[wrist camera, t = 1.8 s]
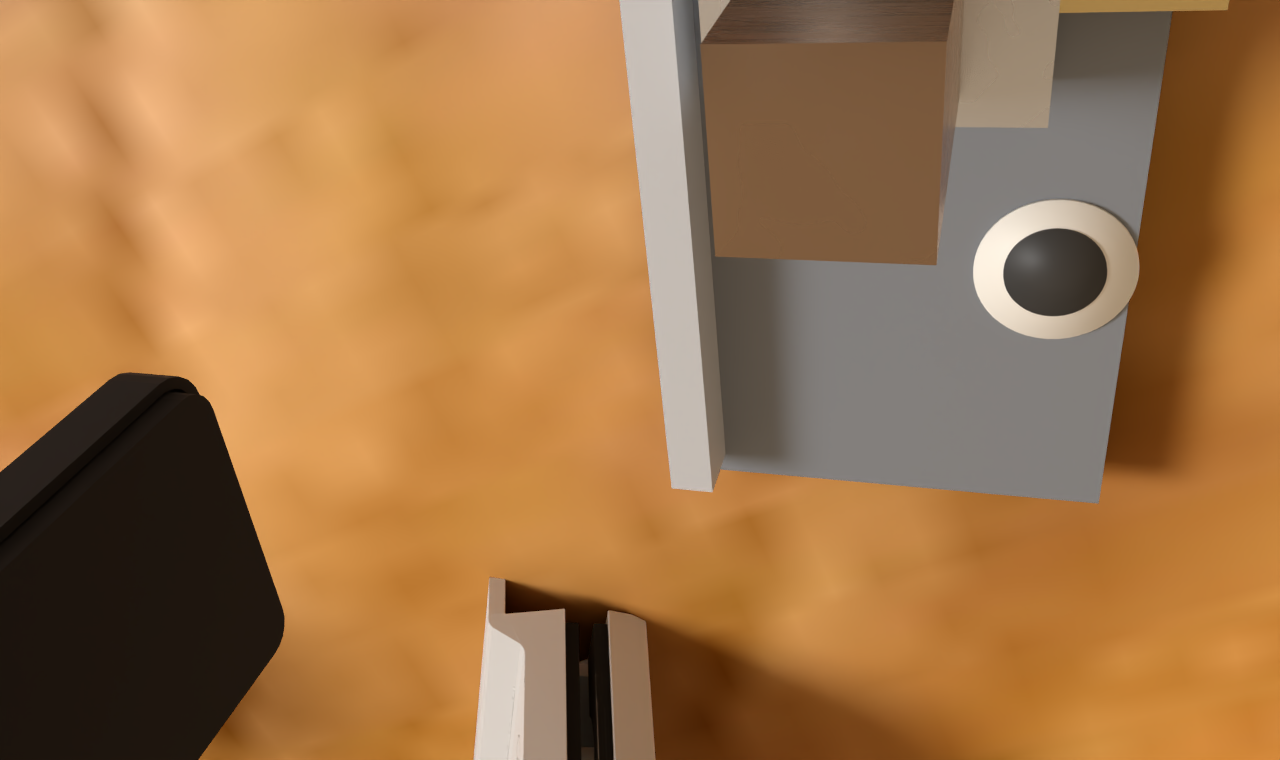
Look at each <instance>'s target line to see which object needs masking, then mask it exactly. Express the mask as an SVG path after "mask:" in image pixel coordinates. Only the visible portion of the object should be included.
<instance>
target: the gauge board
mask: <svg viewBox="0 0 1280 760" xmlns="http://www.w3.org/2000/svg"><path fill="white" fill-rule="evenodd" d="M619 1H620V11H621V20H622V29H623V38H624V48H625V57H626V66H627V76H628V85H629V94H630V104H631V113H632V122H633V132H634V141H635V150H636V160H637V169H638V178H639V188H640V197H641V206H642V216H643V225H644V234H645V244H646V253H647V262H648V272H649V281H650V290H651V300H652V309H653V318H654V328H655V337H656V346H657V356H658V365H659V374H660V384H661V393H662V402H663V412H664V421H665V430H666V440H667V449H668V458H669V468H670V477H671V486H672V488H674V489H685V490H695V491H706V492H713V489H714V486H715V483H716V480H717V478H718V475H719V472H720V469H722V470H733V471H745V472H756V473H767V474H778V475H789V476H800V477H811V478H822V479H833V480H844V481H855V482H867V483H878V484H889V485H900V486H911V487H922V488H933V489H944V490H955V491H966V492H977V493H989V494H1000V495H1011V496H1022V497H1033V498H1044V499H1055V500H1066V501H1077V502H1088V503H1099V497H1100V491H1101V484H1102V477H1103V471H1104V464H1105V457H1106V451H1107V444H1108V437H1109V431H1110V424H1111V417H1112V411H1113V404H1114V398H1115V391H1116V384H1117V378H1118V371H1119V364H1120V358H1121V351H1122V344H1123V338H1124V331H1125V324H1126V318H1127V311H1128V304H1129V300H1130V298H1131V297H1132V295H1133V293H1134V291H1135V288H1136V286H1137V282H1138V277H1139V268H1140V266H1139V256H1138V251H1137V245H1138V238H1139V231H1140V225H1141V218H1142V211H1143V205H1144V198H1145V191H1146V185H1147V178H1148V171H1149V165H1150V158H1151V151H1152V145H1153V138H1154V131H1155V125H1156V118H1157V112H1158V105H1159V98H1160V92H1161V85H1162V78H1163V72H1164V65H1165V58H1166V52H1167V45H1168V38H1169V32H1170V25H1171V18H1172V12H1173V11H1148V12H1089V13H1059V19H1058V29H1057V39H1056V50H1055V60H1054V70H1053V80H1052V91H1051V101H1050V111H1049V121H1048V128H1001V127H955V133H954V140H953V148H952V155H951V162H950V170H949V177H948V185H947V192H946V199H945V207H944V214H943V221H942V229H941V236H940V243H939V251H938V258H937V265H915V264H889V263H864V262H839V261H814V260H788V259H763V258H738V257H715V245H714V231H713V217H712V203H711V189H710V175H709V161H708V147H707V132H706V118H705V104H704V90H703V76H702V62H701V48H700V44H701V32H700V18H699V4H698V0H619Z"/></svg>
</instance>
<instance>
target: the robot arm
mask: <svg viewBox="0 0 1280 760" xmlns="http://www.w3.org/2000/svg"><path fill="white" fill-rule="evenodd" d="M283 631H284V613H283V608H282V606H281V603H280V600H279V597H278V594H277V591H276V588H275V586H274V583H273V580H272V577H271V574H270V571H269V568H268V565H267V563H266V560H265V557H264V554H263V551H262V548H261V545H260V542H259V540H258V537H257V534H256V531H255V528H254V525H253V522H252V520H251V517H250V514H249V511H248V508H247V505H246V502H245V499H244V497H243V494H242V491H241V488H240V485H239V482H238V479H237V476H236V474H235V471H234V468H233V465H232V462H231V459H230V456H229V453H228V451H227V448H226V445H225V442H224V439H223V436H222V433H221V431H220V428H219V425H218V422H217V419H216V416H215V413H214V410H213V408H212V406H211V404H210V402H209V401H208V400H207V399H206V398H205V397H204V396H201V395H199V393H198V391H197V389H196V387H195V386H194V385H193V384H192V383H191V382H190V381H189V380H187V379H184V378H181V377H177V376H165V375H153V374H142V373H122V374H118V375H117V376H115V377H113V378H112V379H110V380H109V381H107V382H106V383H105V384H104V385H103V386H102V387H100V388H99V389H98V390H97V391H96V392H94V393H93V394H92V395H91V396H90V397H89V398H87V399H86V400H85V401H84V402H83V403H81V404H80V405H79V406H78V407H77V408H76V409H74V410H73V411H72V412H71V413H70V414H69V415H67V416H66V417H65V418H64V419H63V420H61V421H60V422H59V423H58V424H57V425H56V426H54V427H53V428H52V429H51V430H50V431H48V432H47V433H46V434H45V435H44V436H43V437H41V438H40V439H39V440H38V441H37V442H35V443H34V444H33V445H32V446H31V447H30V448H28V449H27V450H26V451H25V452H24V453H23V454H21V455H20V456H19V457H18V458H17V459H15V460H14V461H13V462H12V463H11V464H10V465H8V466H7V467H6V468H5V469H4V470H2V471H1V472H0V760H198V759H199V758H200V756H201V755H202V754H203V752H204V751H205V750H206V748H207V747H208V745H209V744H210V743H211V741H212V740H213V738H214V737H215V736H216V734H217V733H218V732H219V730H220V729H221V727H222V726H223V725H224V723H225V722H226V720H227V719H228V718H229V716H230V715H231V714H232V712H233V711H234V709H235V708H236V707H237V705H238V704H239V702H240V701H241V700H242V698H243V697H244V695H245V694H246V693H247V691H248V690H249V689H250V687H251V686H252V684H253V683H254V682H255V680H256V679H257V677H258V676H259V675H260V673H261V672H262V671H263V669H264V668H265V666H266V665H267V664H268V662H269V661H270V659H271V658H272V657H273V655H274V654H275V652H276V651H277V649H278V647H279V645H280V642H281V639H282V637H283Z"/></svg>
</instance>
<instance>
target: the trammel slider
mask: <svg viewBox="0 0 1280 760" xmlns="http://www.w3.org/2000/svg"><path fill="white" fill-rule="evenodd" d="M698 4H699V18H700V32H701V44H700V48H701V62H702V76H703V90H704V104H705V118H706V132H707V147H708V161H709V175H710V189H711V203H712V217H713V231H714V245H715V257H738V258H763V259H788V260H814V261H839V262H864V263H889V264H915V265H937V258H938V251H939V243H940V236H941V229H942V221H943V214H944V207H945V199H946V192H947V185H948V177H949V170H950V162H951V155H952V148H953V140H954V133H955V127H1001V128H1048V121H1049V111H1050V101H1051V91H1052V80H1053V70H1054V60H1055V50H1056V39H1057V29H1058V19H1059V13H1089V12H1148V11H1206V10H1228V5H1229V0H698Z"/></svg>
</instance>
